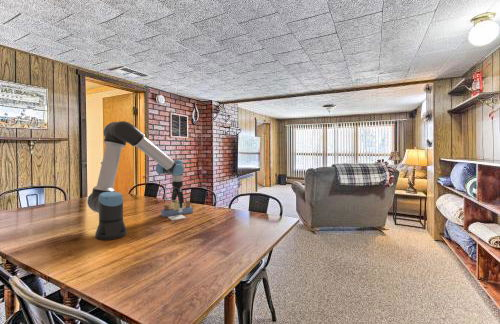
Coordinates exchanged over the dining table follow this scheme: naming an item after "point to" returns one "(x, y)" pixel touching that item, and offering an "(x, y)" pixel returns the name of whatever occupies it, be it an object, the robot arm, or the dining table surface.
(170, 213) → the plane body
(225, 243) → the dining table surface
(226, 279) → the dining table surface
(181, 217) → the felt mat
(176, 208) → the lever cap
